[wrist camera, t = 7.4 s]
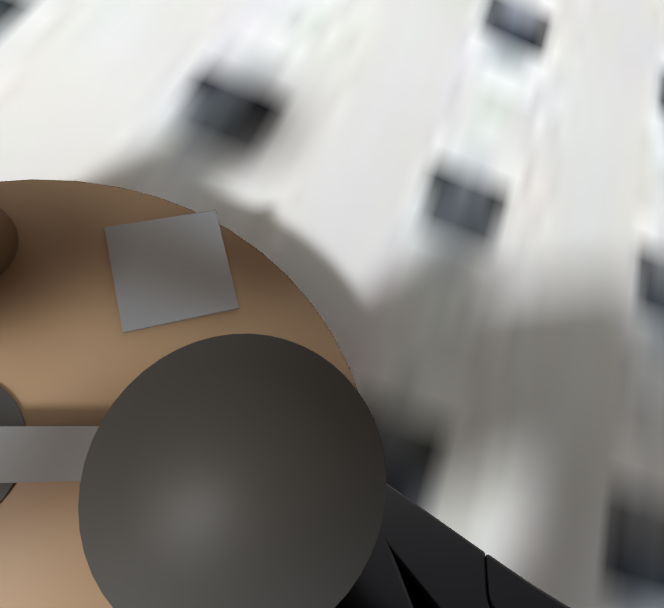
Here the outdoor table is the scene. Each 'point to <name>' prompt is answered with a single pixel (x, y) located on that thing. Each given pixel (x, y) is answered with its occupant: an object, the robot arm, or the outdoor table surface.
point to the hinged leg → (221, 479)
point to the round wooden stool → (110, 339)
